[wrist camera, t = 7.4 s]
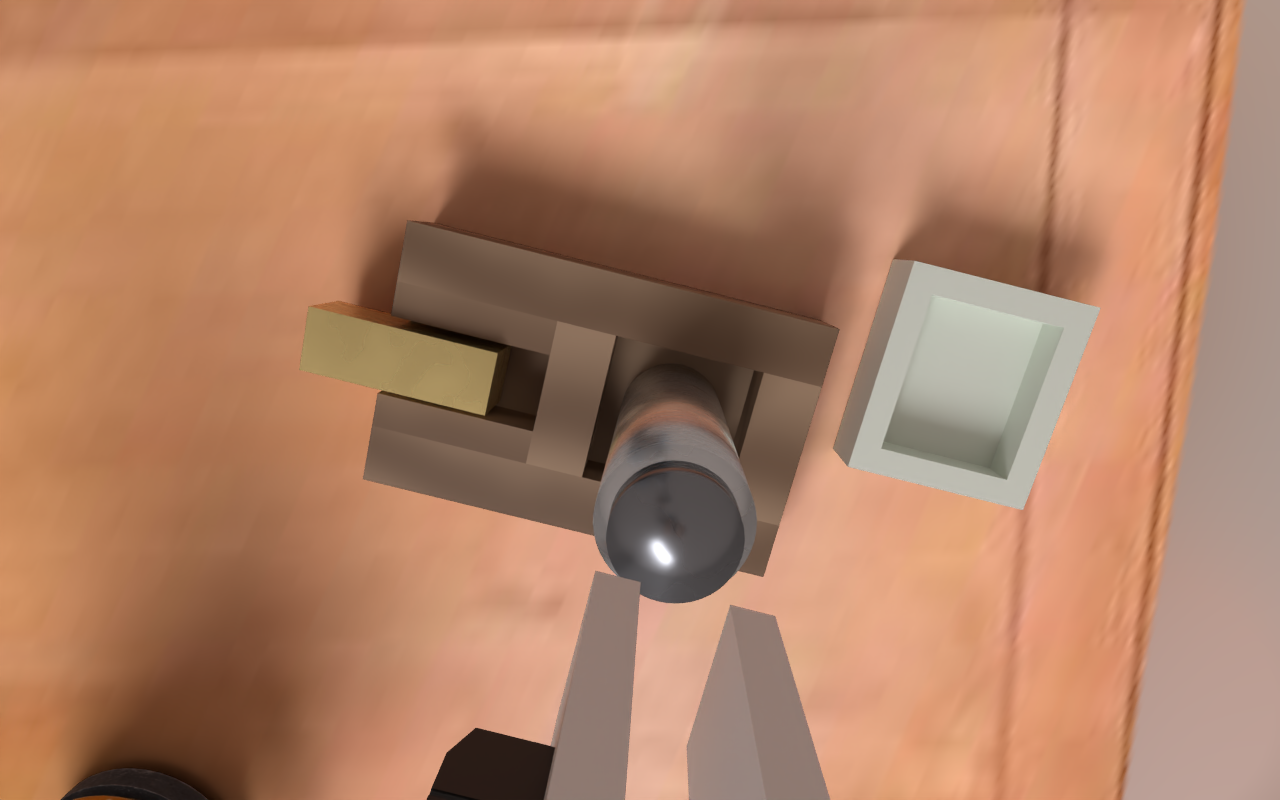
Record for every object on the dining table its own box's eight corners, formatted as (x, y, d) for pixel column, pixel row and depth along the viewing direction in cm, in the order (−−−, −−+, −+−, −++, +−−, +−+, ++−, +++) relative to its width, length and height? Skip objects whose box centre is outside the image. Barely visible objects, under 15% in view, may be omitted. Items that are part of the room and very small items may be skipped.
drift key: (338, 300, 29) (308, 306, 26) (511, 343, 29) (497, 353, 26) (329, 359, 29) (299, 369, 27) (499, 401, 29) (484, 415, 27)
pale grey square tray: (893, 259, 29) (914, 260, 26) (1063, 302, 29) (1100, 308, 26) (832, 448, 30) (847, 466, 28) (994, 488, 30) (1022, 510, 28)
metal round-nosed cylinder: (634, 352, 29) (610, 437, 16) (731, 377, 29) (783, 479, 16) (611, 446, 30) (571, 596, 17) (705, 469, 30) (735, 635, 17)
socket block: (433, 222, 29) (407, 220, 26) (821, 320, 29) (839, 329, 26) (391, 456, 31) (363, 479, 28) (753, 545, 31) (763, 577, 28)
